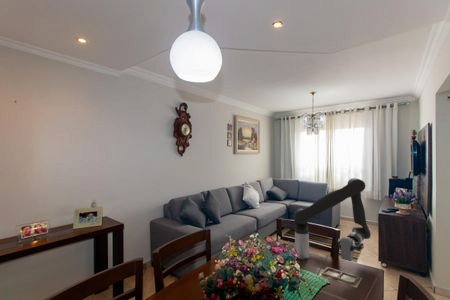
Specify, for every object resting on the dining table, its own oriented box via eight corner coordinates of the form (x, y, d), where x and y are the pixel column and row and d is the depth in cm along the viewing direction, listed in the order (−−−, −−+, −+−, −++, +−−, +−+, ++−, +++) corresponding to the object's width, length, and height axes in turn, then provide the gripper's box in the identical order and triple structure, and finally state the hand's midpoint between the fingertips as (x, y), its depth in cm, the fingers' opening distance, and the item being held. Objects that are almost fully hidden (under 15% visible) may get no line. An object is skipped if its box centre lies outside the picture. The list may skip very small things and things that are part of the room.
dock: (318, 276, 137) (318, 272, 137) (326, 268, 146) (326, 265, 146) (356, 288, 124) (356, 285, 124) (362, 279, 132) (362, 276, 132)
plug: (341, 258, 132) (340, 237, 132) (344, 255, 136) (343, 235, 136) (350, 261, 129) (350, 239, 129) (353, 258, 132) (352, 237, 133)
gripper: (341, 231, 148) (331, 238, 135) (367, 236, 138) (359, 244, 126) (341, 243, 148) (332, 251, 135) (367, 248, 138) (360, 258, 125)
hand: (345, 248), depth 130 cm, fingers closed on plug, 5 cm apart
